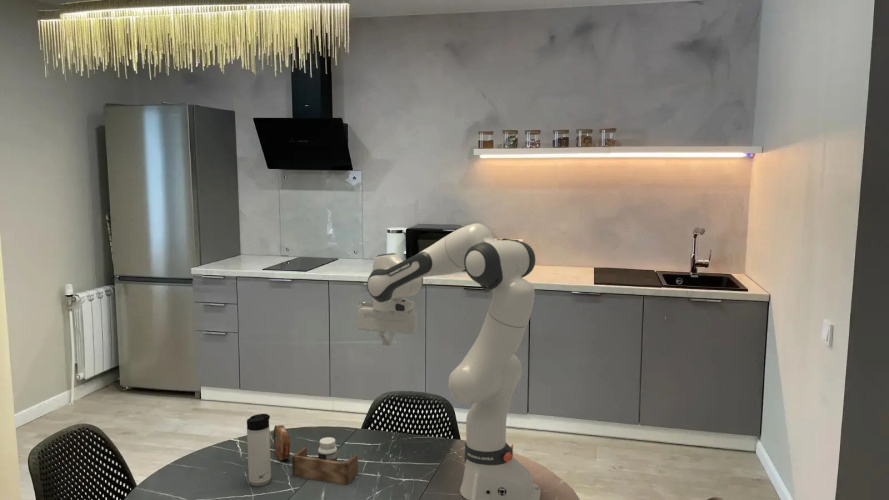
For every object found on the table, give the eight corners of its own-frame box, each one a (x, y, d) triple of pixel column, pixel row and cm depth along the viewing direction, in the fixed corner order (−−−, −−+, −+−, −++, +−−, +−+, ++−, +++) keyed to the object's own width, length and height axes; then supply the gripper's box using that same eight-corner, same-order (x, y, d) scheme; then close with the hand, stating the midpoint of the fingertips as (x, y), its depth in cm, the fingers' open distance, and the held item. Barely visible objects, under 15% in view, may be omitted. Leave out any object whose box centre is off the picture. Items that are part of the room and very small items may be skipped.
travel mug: (266, 487, 182) (263, 420, 180) (244, 485, 183) (242, 418, 181) (276, 477, 188) (273, 412, 186) (255, 475, 189) (253, 410, 187)
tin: (273, 446, 210) (272, 421, 209) (282, 444, 211) (281, 420, 210) (281, 465, 196) (280, 438, 195) (292, 463, 198) (291, 437, 197)
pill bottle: (314, 471, 192) (314, 439, 191) (331, 465, 196) (331, 434, 195) (324, 478, 188) (323, 445, 187) (341, 472, 191) (340, 440, 190)
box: (358, 473, 190) (357, 454, 190) (347, 484, 184) (347, 464, 183) (304, 465, 196) (304, 446, 195) (292, 475, 189) (292, 456, 188)
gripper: (352, 303, 204) (353, 345, 206) (412, 307, 198) (412, 350, 200) (361, 299, 210) (361, 340, 212) (419, 303, 204) (419, 345, 206)
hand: (387, 345), depth 206 cm, fingers closed
